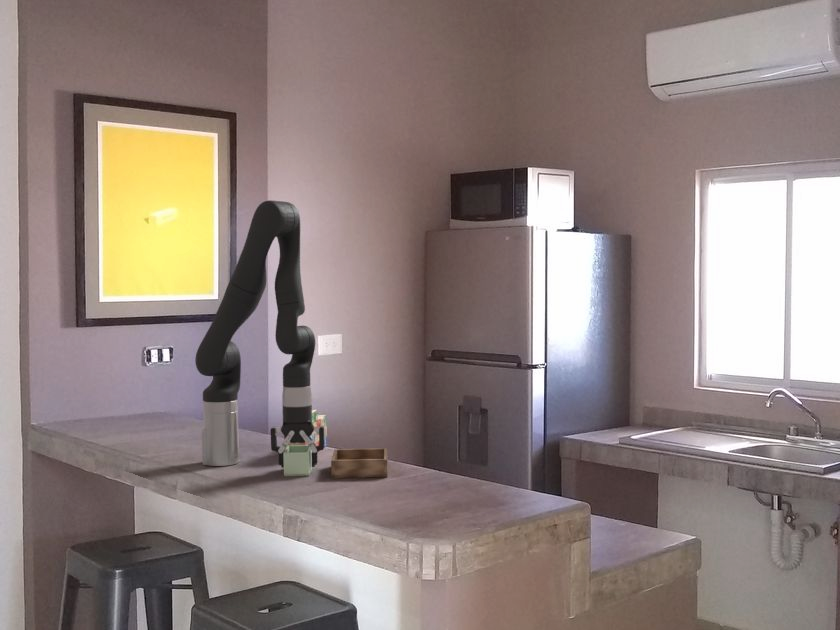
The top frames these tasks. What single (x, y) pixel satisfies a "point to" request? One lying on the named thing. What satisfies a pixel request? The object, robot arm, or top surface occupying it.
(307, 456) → the small crate
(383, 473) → the big crate
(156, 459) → the top surface
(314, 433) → the stack of blocks
